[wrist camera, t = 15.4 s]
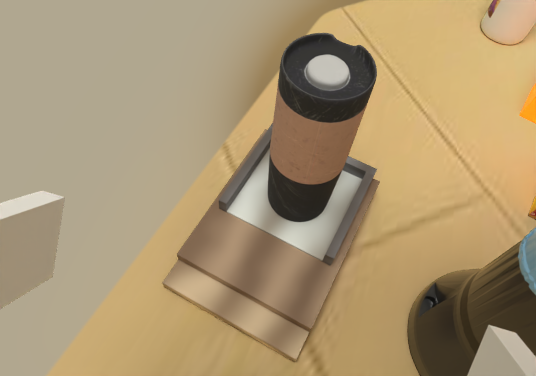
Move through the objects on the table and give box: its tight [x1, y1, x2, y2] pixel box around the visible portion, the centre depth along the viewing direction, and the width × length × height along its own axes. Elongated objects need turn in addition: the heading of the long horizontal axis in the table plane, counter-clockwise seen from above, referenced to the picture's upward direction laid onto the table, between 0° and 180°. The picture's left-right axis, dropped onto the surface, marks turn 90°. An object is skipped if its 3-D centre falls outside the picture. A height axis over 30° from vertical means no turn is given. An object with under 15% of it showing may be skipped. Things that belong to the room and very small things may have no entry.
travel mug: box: [268, 33, 377, 222], centre depth 40 cm, size 8×8×20 cm
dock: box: [162, 123, 380, 362], centre depth 48 cm, size 16×23×5 cm
